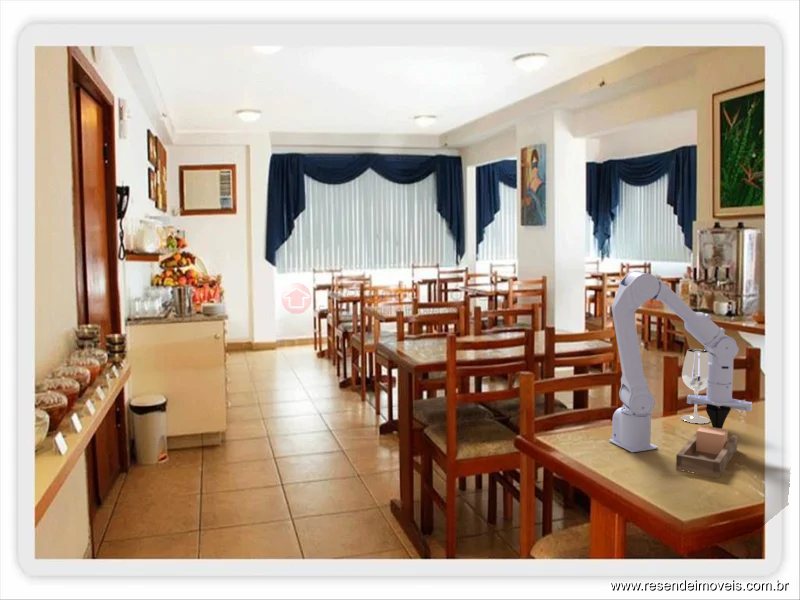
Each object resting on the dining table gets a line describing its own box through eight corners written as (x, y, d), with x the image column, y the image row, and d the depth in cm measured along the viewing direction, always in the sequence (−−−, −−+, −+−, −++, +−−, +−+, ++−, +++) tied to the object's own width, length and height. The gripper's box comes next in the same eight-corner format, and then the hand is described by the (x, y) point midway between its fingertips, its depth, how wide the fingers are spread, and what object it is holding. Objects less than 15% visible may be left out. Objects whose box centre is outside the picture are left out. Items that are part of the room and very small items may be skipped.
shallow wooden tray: (698, 443, 172) (698, 429, 171) (736, 449, 167) (737, 436, 166) (675, 469, 154) (676, 455, 154) (718, 478, 149) (719, 462, 149)
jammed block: (700, 445, 167) (701, 425, 167) (726, 449, 164) (727, 429, 163) (695, 450, 163) (696, 430, 163) (722, 455, 160) (723, 435, 159)
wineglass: (703, 415, 195) (705, 347, 193) (715, 424, 187) (718, 353, 185) (676, 416, 195) (678, 348, 193) (686, 424, 188) (689, 353, 185)
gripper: (685, 381, 168) (683, 434, 169) (750, 389, 160) (747, 444, 162) (690, 376, 174) (688, 427, 175) (753, 382, 166) (751, 436, 167)
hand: (717, 435), depth 169 cm, fingers closed
